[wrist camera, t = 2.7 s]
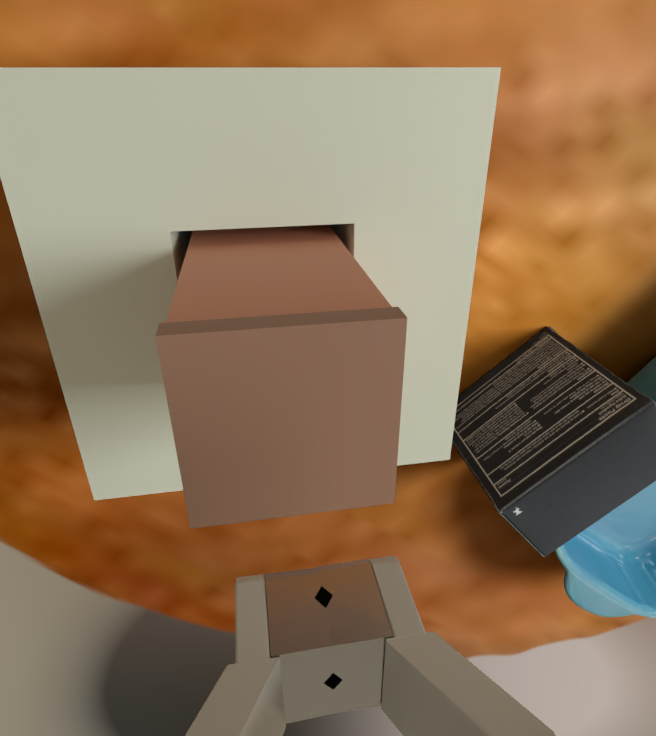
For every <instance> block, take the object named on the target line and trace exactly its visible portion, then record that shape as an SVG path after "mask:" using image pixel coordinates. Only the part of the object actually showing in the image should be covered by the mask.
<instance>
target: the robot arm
mask: <svg viewBox="0 0 656 736" xmlns="http://www.w3.org/2000/svg"><path fill="white" fill-rule="evenodd" d="M265 586H266V587H265ZM235 601H236V664H231V665H227V667H226V668H225V670H224V672H223V673H222V675H221V677H220V678H219V680H218V682H217V683H216V685H215V687H214V688H213V690H212V692H211V693H210V695H209V697H208V699H207V700H206V702H205V704H204V705H203V707H202V708H201V710H200V712H199V714H198V715H197V717H196V718H195V720H194V722H193V724H192V725H191V727H190V728H189V730H188V732H187V734H186V735H185V736H283V733H284V730H285V728H286V726H285V724H286V723H291V722H296V721H300V720H305V719H310V718H314V717H319V716H323V715H328V714H333V713H339V712H346V711H352V710H359V709H365V708H372V707H378V706H381V709H382V710H383V712H384V713H385V714H386V715H387V716H388V717H389V719H390V720H391V721H392V722H393V724H394V725H395V726H396V727H397V729H398V730H399V731H400V732H401V733H402V735H403V736H555V734H554V732H553V731H552V730H551V729H550V728H549V727H547V726H546V725H545V724H544V723H542V722H541V721H540V720H539V719H538V718H537V717H535V716H534V715H533V714H532V713H531V712H529V711H528V710H527V709H526V708H525V707H523V706H522V705H521V704H520V703H519V702H517V701H516V700H515V699H514V698H513V697H511V696H510V695H509V694H508V693H507V692H505V691H504V690H503V689H502V688H501V687H500V686H498V685H497V684H496V683H495V682H494V681H492V680H491V679H490V678H489V677H488V676H486V675H485V674H484V673H483V672H481V671H480V670H479V669H478V668H477V667H476V666H474V665H473V664H472V663H471V662H469V661H468V660H467V659H466V658H465V657H464V656H462V655H461V654H460V653H459V652H458V651H456V650H455V649H454V648H453V647H452V646H450V645H449V644H448V643H447V642H446V641H444V640H443V639H442V638H441V637H440V636H438V635H437V634H436V633H435V632H434V631H432V632H425V630H424V627H423V625H422V622H421V619H420V617H419V614H418V611H417V609H416V606H415V603H414V601H413V598H412V595H411V593H410V590H409V587H408V585H407V582H406V579H405V577H404V574H403V571H402V569H401V566H400V563H399V560H398V559H397V558H396V557H395V556H388V557H381V558H375V559H369V560H367V559H365V560H358V561H352V562H346V563H339V564H333V565H326V566H320V567H317V568H311V569H302V570H294V571H285V572H276V573H267V574H265V577H264V574H261V575H253V576H245V577H237V579H236V585H235Z"/></svg>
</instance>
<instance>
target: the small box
mask: <svg viewBox="0 0 656 736" xmlns="http://www.w3.org/2000/svg"><path fill="white" fill-rule="evenodd" d="M452 443H453V445H454V446H455V448H456V449H457V451H458V453H459V454H460V455H461V457H462V458H463V460H464V461H465V462H466V464H467V466H468V467H469V469H470V470H471V472H472V473H473V474H474V476H475V478H476V479H477V480H478V482H479V483H480V485H481V486H482V488H483V489H484V491H485V492H486V494H487V495H488V497H489V498H490V500H491V501H492V503H493V505H494V506H495V508H496V510H497V512H498V513H499V514H500V515H501V516H502V517H503V518H504V519H505V520H506V521H507V522H508V523H509V524H510V525H511V526H512V527H513V528H514V529H515V530H516V531H517V532H518V533H519V534H520V535H522V537H523V538H524V539H525V540H526V541H527V542H528V543H529V544H530V545H531V546H532V547H533V548H534V549H535V550H536V551H537V552H538V553H539V554H540V555H541V556H543V557H546V556H548V555H549V554H550V553H552V552H553V551H555V550H556V549H558V548H559V547H561V546H562V545H563V544H565V543H566V542H568V541H569V540H571V539H572V538H574V537H575V536H576V535H578V534H579V533H581V532H582V531H584V530H585V529H587V528H588V527H589V526H591V525H592V524H594V523H595V522H597V521H598V520H600V519H601V518H603V517H604V516H605V515H607V514H608V513H610V512H611V511H613V510H614V509H615V508H617V507H618V506H620V505H621V504H623V503H624V502H626V501H627V500H629V499H630V498H632V497H633V496H635V495H636V494H637V493H639V492H640V491H642V490H643V489H645V488H646V487H648V486H649V485H651V484H652V483H653V482H655V481H656V403H655V402H654V401H653V400H652V399H650V398H649V397H647V396H646V395H644V394H642V393H639V392H638V391H637V390H636V389H634V388H633V387H632V386H630V385H628V384H627V383H625V382H624V381H623V380H621V379H620V378H619V377H617V376H615V375H614V374H613V373H612V372H610V371H609V370H608V369H606V368H605V367H603V366H602V365H600V364H599V363H598V362H596V361H595V360H593V359H592V358H591V357H589V356H588V355H586V354H585V353H584V352H582V351H581V350H579V349H578V348H576V347H575V346H574V345H572V344H571V343H570V342H568V341H567V340H565V339H564V338H563V337H561V336H560V335H558V334H557V333H556V332H555V331H554V330H553V329H552V328H551V327H546V328H544V329H543V330H542V331H541V332H539V333H538V334H537V335H535V336H534V337H533V338H531V339H530V340H529V341H528V342H526V343H525V344H524V345H523V346H521V347H520V348H519V349H517V350H516V351H515V352H514V353H512V354H511V355H510V356H509V357H507V358H506V359H505V360H503V361H502V362H501V363H500V364H498V365H497V366H496V367H494V368H493V369H492V370H491V371H489V372H488V373H487V374H486V375H484V376H483V377H482V378H480V379H479V380H478V381H477V382H475V383H474V384H473V385H472V386H470V387H469V388H468V389H466V390H465V391H464V392H463V393H461V394H460V395H459V396H458V401H457V409H456V416H455V424H454V432H453V439H452Z"/></svg>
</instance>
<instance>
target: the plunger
mask: <svg viewBox="0 0 656 736" xmlns="http://www.w3.org/2000/svg"><path fill="white" fill-rule="evenodd" d="M406 331H407V317H406V315H405V314H404V313H403V312H402V310H401V309H400V308H399V307H392V306H391V305H390V304H389V302H388V301H387V300H386V299H385V297H384V296H383V295H382V293H381V292H380V291H379V289H378V288H377V287H376V286H375V284H374V283H373V282H372V280H371V279H370V278H369V276H368V275H367V274H366V273H365V271H364V270H363V269H362V267H361V266H360V265H359V263H358V262H357V261H356V260H355V258H354V257H353V256H352V254H351V253H350V252H349V251H348V249H347V248H346V247H345V245H344V244H343V243H342V241H341V240H340V239H339V238H338V236H337V235H336V234H335V232H334V231H333V230H332V228H331V227H330V226H329V225H307V226H285V227H262V228H240V229H217V230H195V231H192V235H191V238H190V242H189V245H188V248H187V252H186V255H185V258H184V262H183V265H182V268H181V272H180V275H179V279H178V282H177V285H176V289H175V292H174V295H173V299H172V302H171V305H170V309H169V312H168V316H167V319H166V322H165V323H159V326H158V329H157V332H156V335H155V337H156V343H157V348H158V354H159V359H160V365H161V370H162V376H163V381H164V387H165V392H166V398H167V403H168V409H169V414H170V420H171V425H172V431H173V436H174V442H175V447H176V453H177V458H178V464H179V469H180V475H181V480H182V486H183V491H184V497H185V502H186V508H187V513H188V519H189V524H190V529H192V528H200V527H208V526H216V525H224V524H231V523H239V522H247V521H255V520H263V519H271V518H279V517H287V516H295V515H303V514H311V513H319V512H327V511H335V510H343V509H351V508H359V507H367V506H375V505H383V504H391V503H394V502H395V488H396V474H397V459H398V445H399V431H400V417H401V402H402V388H403V374H404V359H405V345H406Z"/></svg>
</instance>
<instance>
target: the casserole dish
mask: <svg viewBox="0 0 656 736" xmlns="http://www.w3.org/2000/svg"><path fill="white" fill-rule="evenodd" d="M627 384H628V385H630V386H632V387H633V388H634V389H636V390H637V391H638V392H639V393H642V394H644V395H646V396H647V397H649V398H650V399H652V400H653V401H654V402H655V403H656V357H655V358H653V359H652V360H651V361H650V362H649V363H648V364H647V365H646V366H645V367H644V368H643V369H641V370H640V371H639V372H638V373H637V374H636V375H635V376H634V377H633V378H632V379H631V380H629V381H628V382H627ZM555 554H556V555H557V557H558V559H559V561H560V562H561V564H562V565H563V566H564V568H565V576H564V588H565V591H566V593H567V595H568V597H569V598H570V599H571V600H572V601H573V602H574V603H575V604H576V605H577V606H579V607H581V608H582V609H584V610H586V611H588V612H590V613H593V614H595V615H599V616H604V617H621V616H628V615H634V614H635V615H641V616H645V617H651V618H656V481H655V482H653V483H652V484H651V485H649V486H648V487H646V488H645V489H643V490H642V491H640V492H639V493H637V494H636V495H635V496H633V497H632V498H630V499H629V500H627V501H626V502H624V503H623V504H621V505H620V506H618V507H617V508H615V509H614V510H613V511H611V512H610V513H608V514H607V515H605V516H604V517H603V518H601V519H600V520H598V521H597V522H595V523H594V524H592V525H591V526H589V527H588V528H587V529H585V530H584V531H582V532H581V533H579V534H578V535H576V536H575V537H574V538H572V539H571V540H569V541H568V542H566V543H565V544H563V545H562V546H561V547H559V548H558V549H556V550H555Z"/></svg>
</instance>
